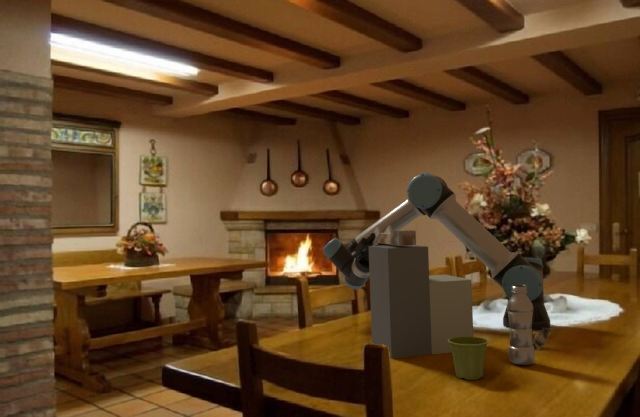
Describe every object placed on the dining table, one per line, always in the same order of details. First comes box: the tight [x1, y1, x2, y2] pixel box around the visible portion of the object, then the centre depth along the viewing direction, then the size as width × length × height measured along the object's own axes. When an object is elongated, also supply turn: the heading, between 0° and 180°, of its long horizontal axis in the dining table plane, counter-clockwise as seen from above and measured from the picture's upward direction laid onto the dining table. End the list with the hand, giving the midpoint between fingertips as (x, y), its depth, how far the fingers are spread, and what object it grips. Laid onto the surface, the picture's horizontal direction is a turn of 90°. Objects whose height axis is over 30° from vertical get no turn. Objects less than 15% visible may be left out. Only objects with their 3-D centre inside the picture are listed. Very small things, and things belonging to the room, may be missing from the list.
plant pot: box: [448, 336, 489, 381], centre depth 130 cm, size 9×9×9 cm
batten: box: [369, 229, 417, 246], centre depth 165 cm, size 28×5×4 cm, turn 14°
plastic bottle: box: [506, 285, 536, 366], centre depth 140 cm, size 6×7×20 cm
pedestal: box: [369, 244, 474, 359], centre depth 160 cm, size 16×25×30 cm, turn 104°
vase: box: [533, 327, 555, 351], centre depth 156 cm, size 5×5×6 cm
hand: (384, 229), depth 168 cm, fingers closed on batten, 3 cm apart
